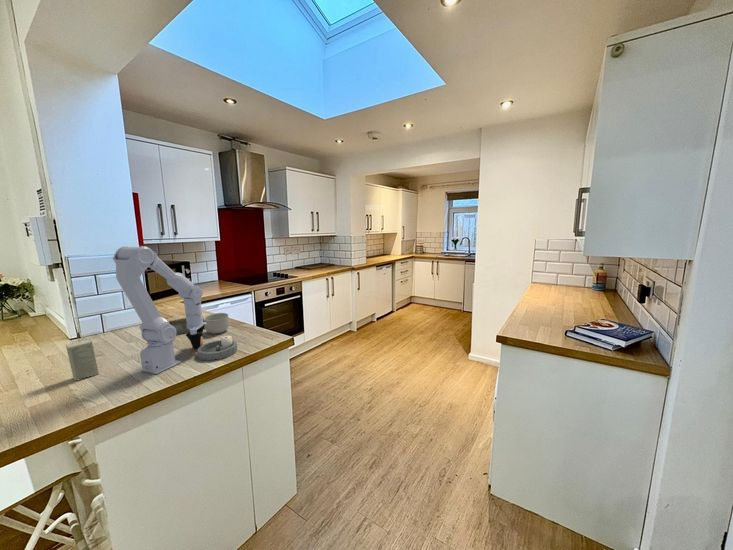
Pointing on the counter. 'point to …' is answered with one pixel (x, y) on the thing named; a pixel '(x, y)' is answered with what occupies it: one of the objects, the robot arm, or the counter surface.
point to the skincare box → (82, 359)
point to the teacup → (216, 323)
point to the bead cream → (226, 342)
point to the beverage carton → (180, 326)
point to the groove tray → (215, 350)
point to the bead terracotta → (200, 343)
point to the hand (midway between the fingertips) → (198, 345)
